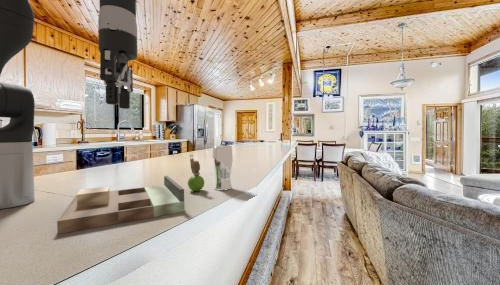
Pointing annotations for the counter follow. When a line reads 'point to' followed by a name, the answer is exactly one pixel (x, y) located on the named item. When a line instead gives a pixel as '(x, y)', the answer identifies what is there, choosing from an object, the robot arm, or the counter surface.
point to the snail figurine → (195, 176)
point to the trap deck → (124, 207)
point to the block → (93, 196)
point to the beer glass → (222, 166)
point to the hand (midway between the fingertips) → (118, 106)
